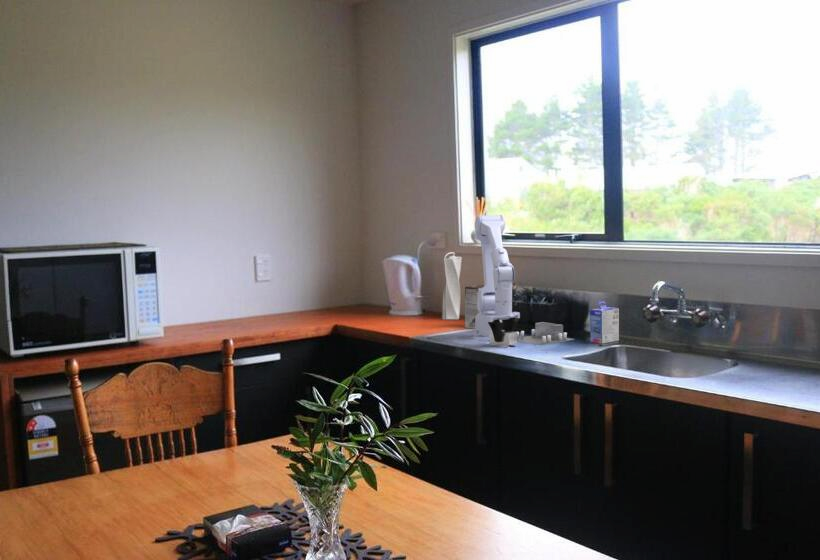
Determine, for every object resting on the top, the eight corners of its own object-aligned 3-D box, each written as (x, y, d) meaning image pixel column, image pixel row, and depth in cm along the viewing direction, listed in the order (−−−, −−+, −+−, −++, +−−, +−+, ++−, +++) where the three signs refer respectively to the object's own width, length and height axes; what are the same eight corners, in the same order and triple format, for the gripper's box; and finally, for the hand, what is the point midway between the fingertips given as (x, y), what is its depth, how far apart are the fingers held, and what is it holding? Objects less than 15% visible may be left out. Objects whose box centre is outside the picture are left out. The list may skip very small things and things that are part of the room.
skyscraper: (442, 317, 338) (442, 252, 335) (461, 317, 337) (462, 252, 335) (441, 320, 330) (441, 253, 327) (461, 320, 329) (461, 253, 326)
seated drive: (535, 337, 279) (535, 322, 279) (542, 335, 282) (542, 321, 281) (555, 340, 273) (555, 325, 272) (562, 339, 275) (562, 324, 275)
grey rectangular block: (489, 344, 272) (489, 329, 271) (497, 343, 274) (497, 328, 274) (508, 348, 265) (509, 332, 264) (517, 346, 267) (517, 331, 267)
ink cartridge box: (606, 341, 277) (606, 299, 276) (619, 343, 273) (620, 301, 271) (588, 344, 271) (589, 302, 269) (602, 346, 266) (603, 303, 265)
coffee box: (476, 324, 315) (476, 284, 314) (490, 326, 311) (490, 285, 310) (464, 327, 308) (464, 286, 306) (478, 329, 304) (478, 287, 302)
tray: (507, 342, 275) (507, 332, 274) (541, 336, 286) (541, 327, 286) (541, 348, 263) (541, 337, 263) (575, 342, 275) (575, 332, 275)
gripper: (497, 304, 260) (497, 344, 262) (526, 300, 270) (526, 340, 271) (481, 302, 266) (481, 342, 267) (511, 298, 275) (510, 337, 276)
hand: (503, 340), depth 269 cm, fingers open, 5 cm apart
